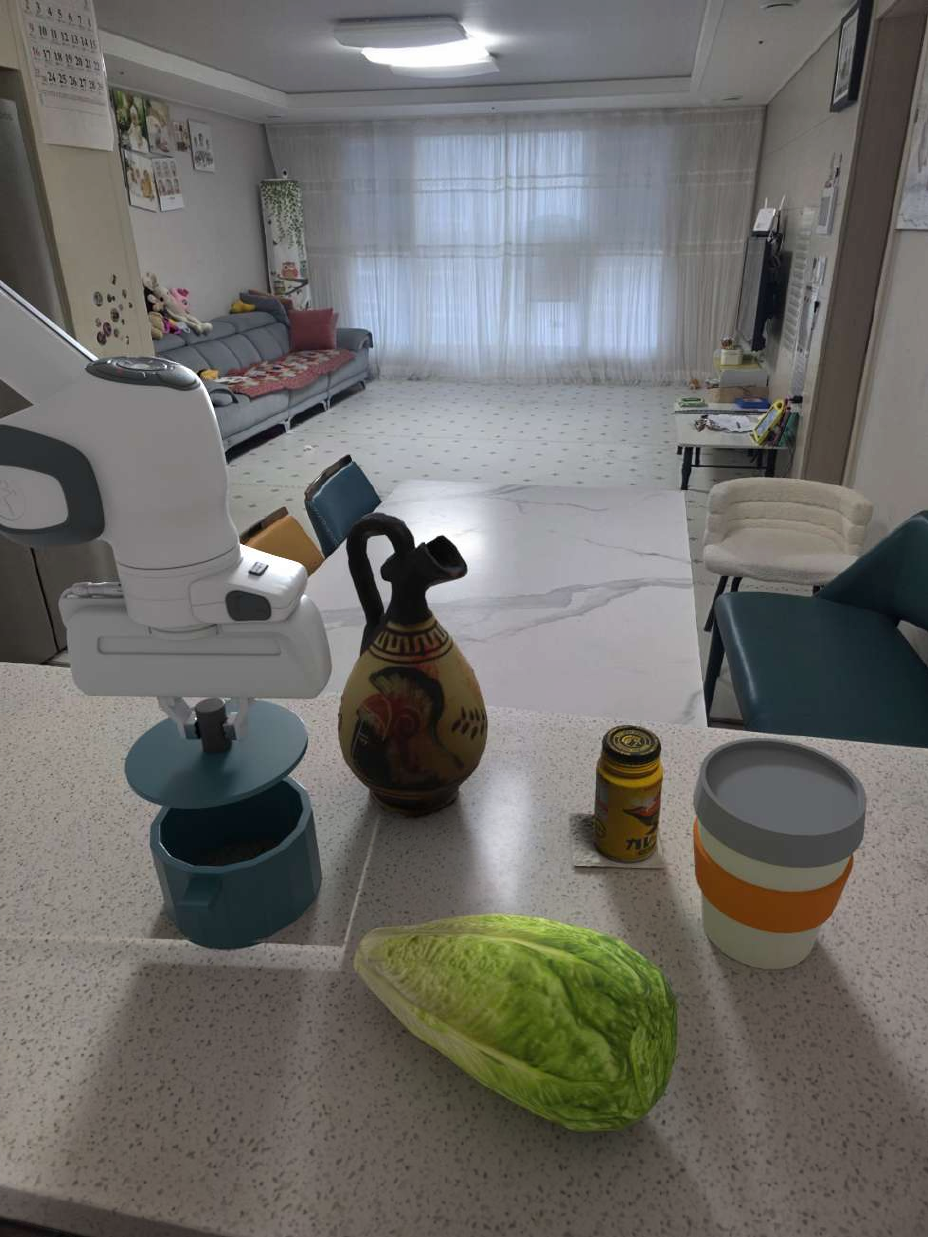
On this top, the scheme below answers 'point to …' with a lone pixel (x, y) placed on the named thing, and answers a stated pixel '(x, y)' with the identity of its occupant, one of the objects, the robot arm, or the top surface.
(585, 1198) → the top surface
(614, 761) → the condiment
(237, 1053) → the top surface
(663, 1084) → the lettuce
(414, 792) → the ceramic jug
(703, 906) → the reusable coffee cup
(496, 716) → the top surface
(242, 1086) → the top surface
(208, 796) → the pot lid
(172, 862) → the pot
